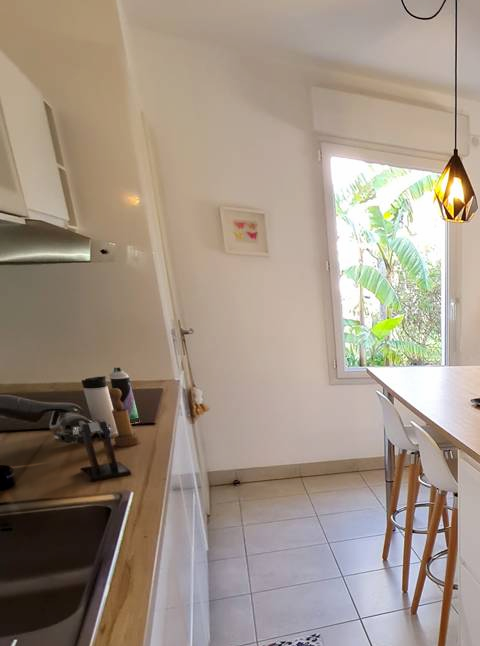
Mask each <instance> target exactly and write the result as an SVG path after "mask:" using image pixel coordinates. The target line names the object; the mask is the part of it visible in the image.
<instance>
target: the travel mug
mask: <svg viewBox="0 0 480 646" xmlns="http://www.w3.org/2000/svg"><path fill="white" fill-rule="evenodd" d="M106 379H107V376H106V375H102V376H94V377H87V378H85V379H81V380H80V381H81V384H82V389H83V393H84V396H85V399H86V403H87V407H88V410H89V415H90V418H91V421H92V422H93V423H94V422H98V421H97V419H103V420H104V421H106V424H109V425H111V428H112V432H113V433H112V434H111V435H110V439H114V438H115V437H116V436H117V435H118V432H117V428H116V424H115V421H114V417H113V413H112V410H114V407H113V406H114V405H113V402H112V399H111V398H112V397H111V395H110V393H109V392H110V390H109V387H108V384H107V380H106Z"/></svg>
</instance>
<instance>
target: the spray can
mask: <svg viewBox="0 0 480 646" xmlns="http://www.w3.org/2000/svg"><path fill="white" fill-rule="evenodd" d="M109 380H110V385H111V389H113V388H117V389H119V390H120V391H121V393H122V394H121V397H120V401H121V402H122V409H127V411H128V415H129V419H135V418H139V414H138V410H137V406H136V402H135V401H136V400H135V397H134V393H133V389H132V384H131V380H130V376H129V375H128V373H126V372H125V371H123V370H122V369H121V367H113V371H112V372H111V373H110V374H109ZM133 424H139V422H135V423H131V425H133Z"/></svg>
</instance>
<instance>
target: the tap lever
mask: <svg viewBox="0 0 480 646" xmlns="http://www.w3.org/2000/svg"><path fill="white" fill-rule="evenodd" d="M87 425H88V429H89V433H90V436H91V440H92V442H94V441H96V440H97V439H96V438H97V434H96V433H100V431H101V429H100V426H99V423H98V422H94V423H88V424H87ZM81 435H82V432H81ZM83 440H84V439H83Z"/></svg>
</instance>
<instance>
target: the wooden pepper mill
mask: <svg viewBox="0 0 480 646" xmlns="http://www.w3.org/2000/svg"><path fill="white" fill-rule="evenodd" d="M109 394H110V397H111V398H112V399H113V401H114V400H115V401H114V402H112V405H113V406H114V407H115V409H113V410H112V413H113V417H114V421H115V424H116V428H117V432H118V435H117V436H116V437H114V438H113V439H114V444H115V447H121V448H124V447H133V446H136V445H139V444H141V438H140V436H139V435H138V434H136V433H135V432H134V431H133V426H132V424H131V423H130V419H129V415H128V411H127V409H122V402H121V401H120V397H121V394H122V393H121V391H120V390H119V389H117V388H113V389H112V388H110V389H109ZM116 409H117V410H116Z"/></svg>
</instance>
